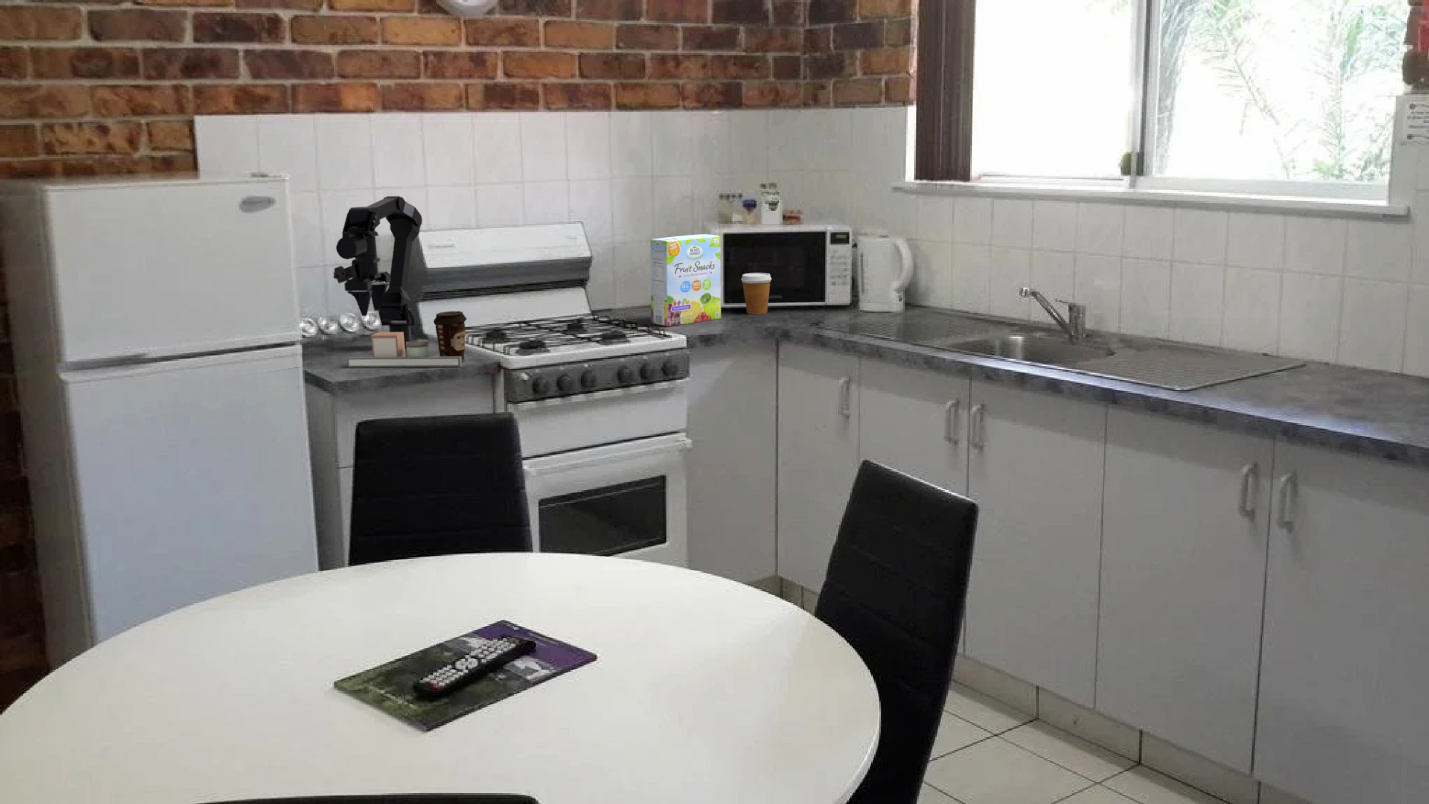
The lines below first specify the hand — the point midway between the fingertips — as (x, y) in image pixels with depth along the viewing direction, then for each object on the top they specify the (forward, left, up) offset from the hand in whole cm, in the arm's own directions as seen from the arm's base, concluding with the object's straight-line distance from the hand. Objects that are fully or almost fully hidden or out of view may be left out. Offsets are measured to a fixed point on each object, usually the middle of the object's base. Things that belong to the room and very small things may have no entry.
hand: (370, 313), depth 361 cm
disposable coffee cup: (-72, +98, -12) cm, 122 cm away
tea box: (+9, +7, -12) cm, 17 cm away
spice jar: (+9, +16, -12) cm, 22 cm away
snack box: (-56, +78, -12) cm, 97 cm away
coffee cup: (+7, +24, -12) cm, 28 cm away
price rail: (+13, +13, -12) cm, 22 cm away
